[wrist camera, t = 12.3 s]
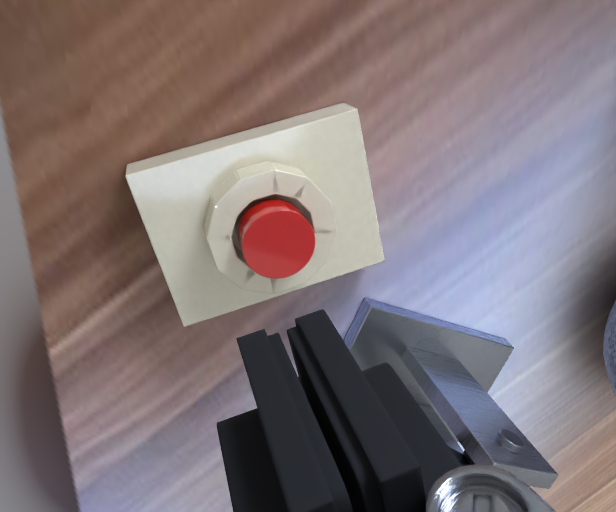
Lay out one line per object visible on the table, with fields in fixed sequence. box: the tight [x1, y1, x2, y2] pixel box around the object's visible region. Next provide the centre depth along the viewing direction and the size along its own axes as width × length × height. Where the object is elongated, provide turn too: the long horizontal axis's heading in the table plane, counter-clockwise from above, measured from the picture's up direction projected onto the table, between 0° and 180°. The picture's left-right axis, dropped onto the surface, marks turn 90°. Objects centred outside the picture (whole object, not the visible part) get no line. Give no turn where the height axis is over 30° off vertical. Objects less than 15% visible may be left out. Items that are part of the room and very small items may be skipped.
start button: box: [237, 199, 315, 279], centre depth 28 cm, size 4×4×2 cm
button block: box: [125, 103, 385, 327], centre depth 30 cm, size 12×9×4 cm
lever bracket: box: [343, 298, 558, 489], centre depth 34 cm, size 12×9×12 cm
